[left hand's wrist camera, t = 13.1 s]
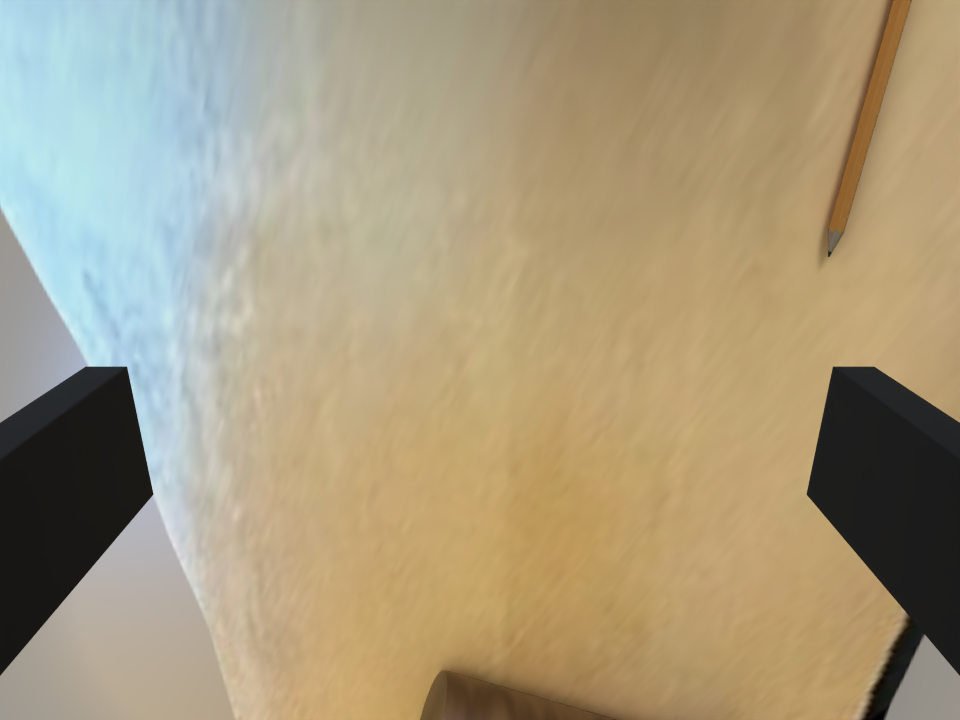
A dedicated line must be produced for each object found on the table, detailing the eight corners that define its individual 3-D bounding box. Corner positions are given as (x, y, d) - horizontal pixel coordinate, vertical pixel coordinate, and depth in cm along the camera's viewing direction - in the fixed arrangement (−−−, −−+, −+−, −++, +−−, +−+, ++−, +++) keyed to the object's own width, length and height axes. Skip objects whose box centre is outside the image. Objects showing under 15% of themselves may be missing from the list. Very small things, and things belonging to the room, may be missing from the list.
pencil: (915, -96, 35) (816, 255, 42) (935, -99, 34) (831, 259, 41) (924, -91, 36) (825, 255, 42) (944, -95, 35) (840, 258, 42)
